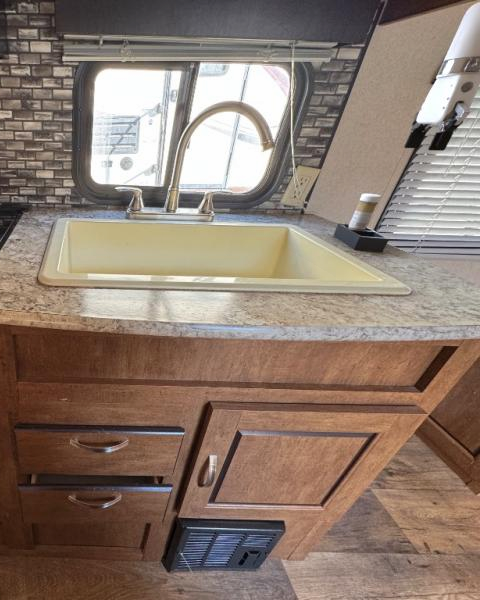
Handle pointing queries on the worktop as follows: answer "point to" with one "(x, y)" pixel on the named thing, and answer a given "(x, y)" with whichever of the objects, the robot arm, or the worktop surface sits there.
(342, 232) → the grid
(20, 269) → the worktop surface
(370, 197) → the sprinkles bottle
